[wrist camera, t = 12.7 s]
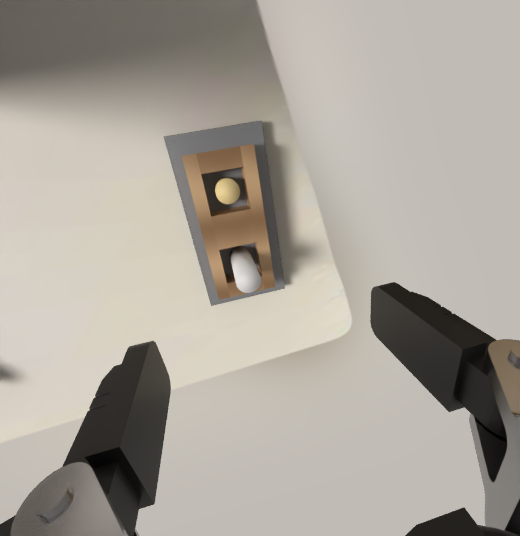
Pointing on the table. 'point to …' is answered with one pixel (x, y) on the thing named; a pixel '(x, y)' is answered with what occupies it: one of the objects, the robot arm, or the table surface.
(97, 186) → the table surface
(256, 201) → the holed bar
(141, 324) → the table surface
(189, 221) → the base
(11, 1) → the table surface
